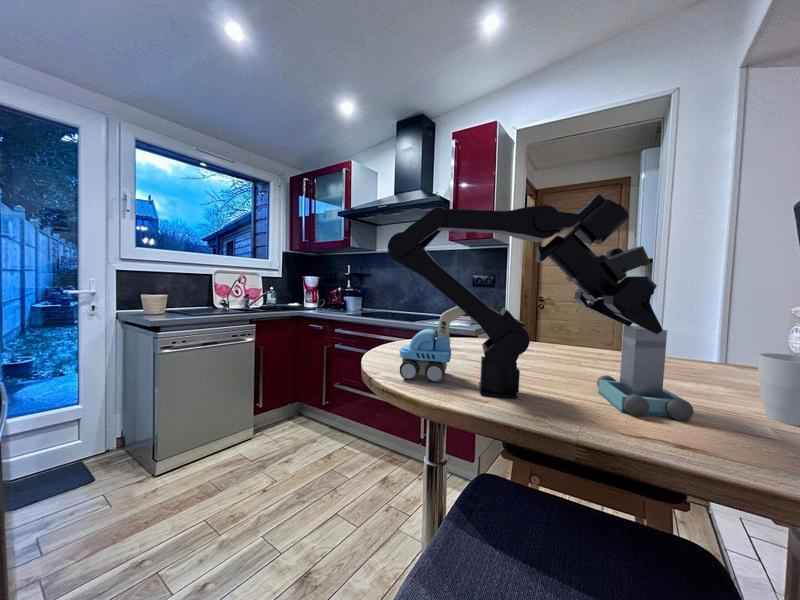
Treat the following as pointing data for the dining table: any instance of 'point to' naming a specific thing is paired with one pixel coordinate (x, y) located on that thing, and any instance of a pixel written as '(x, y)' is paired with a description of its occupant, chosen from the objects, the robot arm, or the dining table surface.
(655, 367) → the grey tall block
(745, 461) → the dining table surface
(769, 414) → the cup
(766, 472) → the dining table surface
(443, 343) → the toy excavator
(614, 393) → the chassis
